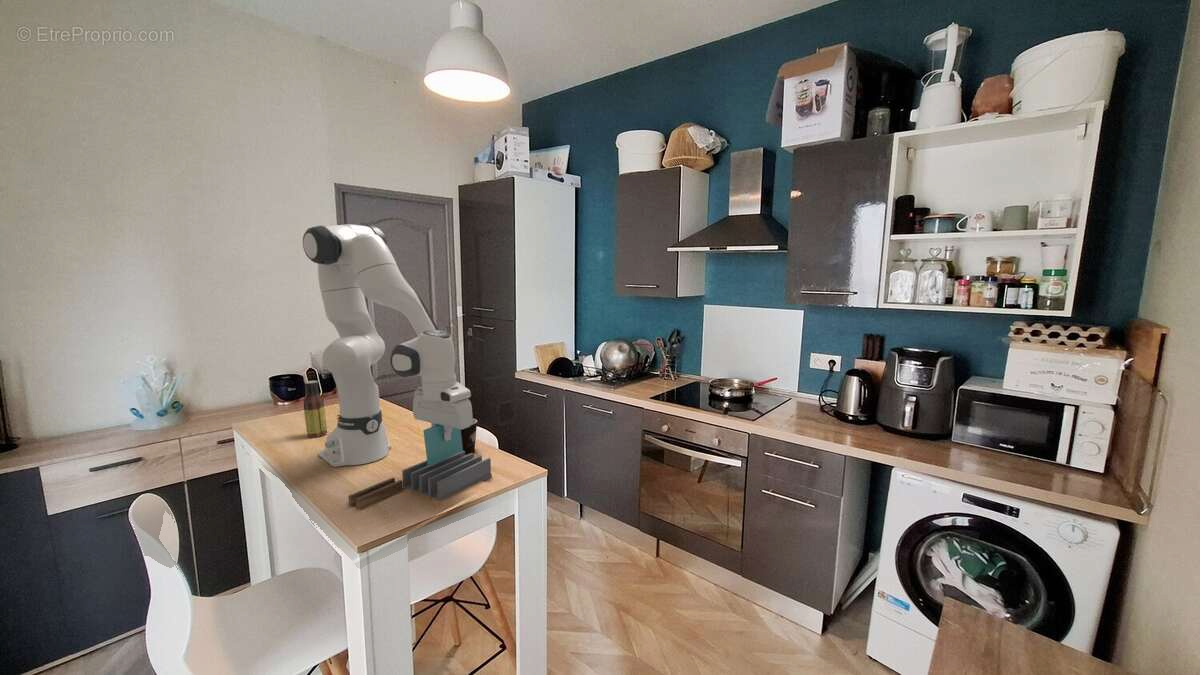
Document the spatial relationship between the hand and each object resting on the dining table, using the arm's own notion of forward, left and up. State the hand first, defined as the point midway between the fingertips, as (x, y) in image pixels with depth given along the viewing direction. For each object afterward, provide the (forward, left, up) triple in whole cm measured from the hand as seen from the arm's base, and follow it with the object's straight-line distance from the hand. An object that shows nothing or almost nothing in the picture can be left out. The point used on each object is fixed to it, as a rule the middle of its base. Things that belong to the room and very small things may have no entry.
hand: (443, 439), depth 124 cm
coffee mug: (-13, +17, -13) cm, 25 cm away
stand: (-7, -16, -12) cm, 21 cm away
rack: (+1, 0, -12) cm, 12 cm away
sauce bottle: (-70, +2, -13) cm, 71 cm away
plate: (0, +1, -6) cm, 6 cm away
